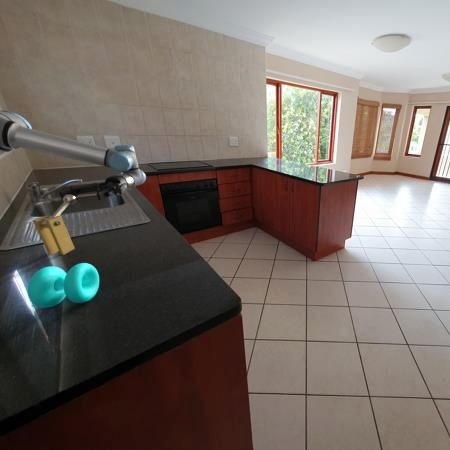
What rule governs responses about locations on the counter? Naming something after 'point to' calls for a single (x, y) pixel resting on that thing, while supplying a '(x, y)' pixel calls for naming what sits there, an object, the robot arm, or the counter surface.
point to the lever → (61, 208)
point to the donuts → (63, 285)
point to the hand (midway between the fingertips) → (79, 196)
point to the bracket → (54, 235)
